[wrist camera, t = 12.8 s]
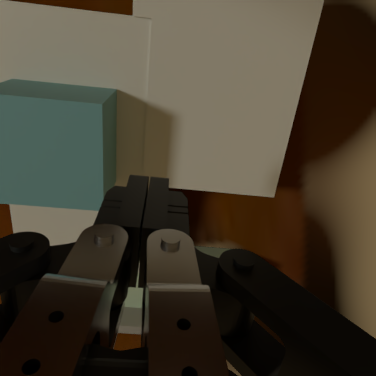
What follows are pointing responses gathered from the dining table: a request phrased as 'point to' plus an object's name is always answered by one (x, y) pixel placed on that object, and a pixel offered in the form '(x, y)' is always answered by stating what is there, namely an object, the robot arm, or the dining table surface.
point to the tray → (171, 93)
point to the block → (56, 144)
